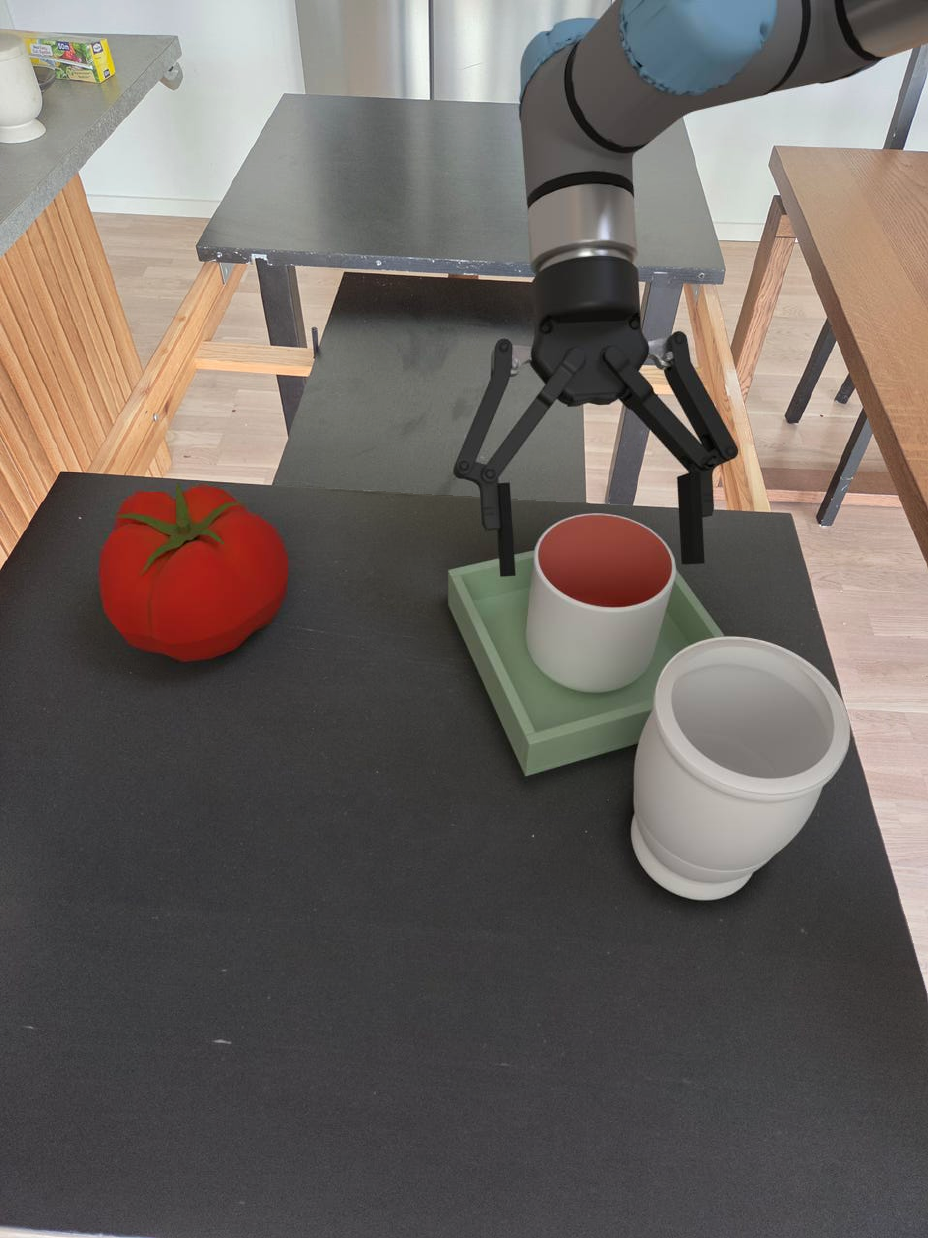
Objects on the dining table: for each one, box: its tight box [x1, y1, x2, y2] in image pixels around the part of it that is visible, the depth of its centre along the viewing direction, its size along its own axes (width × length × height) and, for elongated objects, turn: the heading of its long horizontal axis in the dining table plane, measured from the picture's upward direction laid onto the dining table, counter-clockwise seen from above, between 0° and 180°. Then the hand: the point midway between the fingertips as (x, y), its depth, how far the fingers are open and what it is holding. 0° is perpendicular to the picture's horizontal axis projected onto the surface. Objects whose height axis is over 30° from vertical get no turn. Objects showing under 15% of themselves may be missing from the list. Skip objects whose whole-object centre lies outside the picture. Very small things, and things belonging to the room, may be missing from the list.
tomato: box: [98, 480, 290, 663], centre depth 65 cm, size 13×14×12 cm
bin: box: [447, 549, 726, 777], centre depth 66 cm, size 18×18×4 cm
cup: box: [526, 512, 677, 693], centre depth 63 cm, size 10×10×10 cm
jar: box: [630, 636, 851, 901], centre depth 51 cm, size 11×10×15 cm
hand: (601, 570), depth 61 cm, fingers open, 13 cm apart
